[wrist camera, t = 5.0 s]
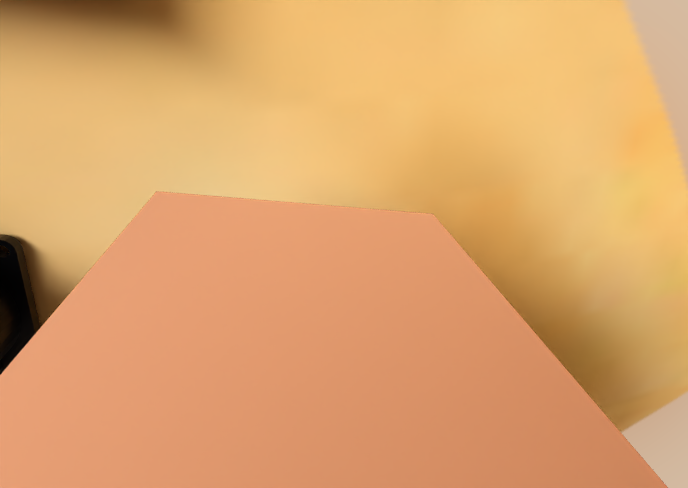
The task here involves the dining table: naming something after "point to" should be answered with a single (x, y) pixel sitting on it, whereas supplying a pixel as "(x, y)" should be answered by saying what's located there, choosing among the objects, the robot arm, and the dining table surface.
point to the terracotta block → (296, 364)
